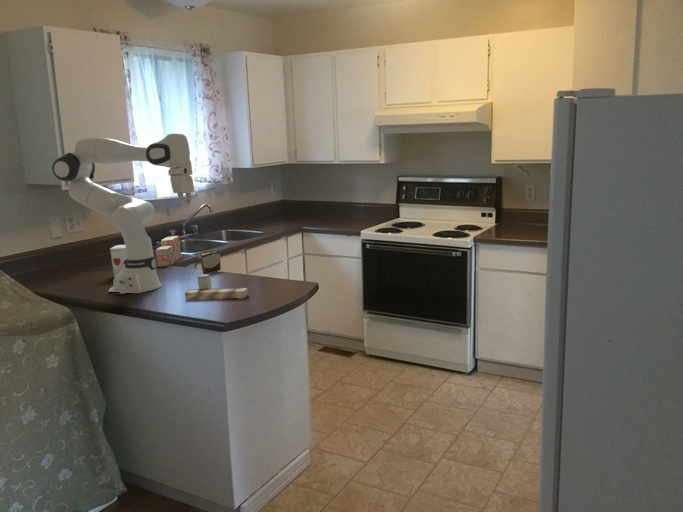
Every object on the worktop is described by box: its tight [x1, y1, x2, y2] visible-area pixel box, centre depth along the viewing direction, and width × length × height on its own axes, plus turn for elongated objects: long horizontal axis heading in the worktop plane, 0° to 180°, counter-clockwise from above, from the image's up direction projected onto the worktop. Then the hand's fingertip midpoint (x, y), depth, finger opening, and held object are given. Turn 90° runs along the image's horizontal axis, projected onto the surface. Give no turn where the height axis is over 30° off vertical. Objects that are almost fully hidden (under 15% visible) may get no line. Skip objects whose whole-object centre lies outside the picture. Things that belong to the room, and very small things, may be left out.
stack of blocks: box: [155, 235, 183, 267], centre depth 323 cm, size 21×6×12 cm, turn 178°
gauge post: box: [197, 273, 213, 289], centre depth 254 cm, size 4×4×8 cm
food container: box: [197, 249, 222, 274], centre depth 294 cm, size 12×6×10 cm, turn 141°
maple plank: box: [184, 287, 249, 301], centre depth 248 cm, size 25×5×3 cm, turn 82°
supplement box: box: [109, 244, 127, 278], centre depth 297 cm, size 9×9×15 cm
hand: (185, 203), depth 258 cm, fingers open, 8 cm apart
